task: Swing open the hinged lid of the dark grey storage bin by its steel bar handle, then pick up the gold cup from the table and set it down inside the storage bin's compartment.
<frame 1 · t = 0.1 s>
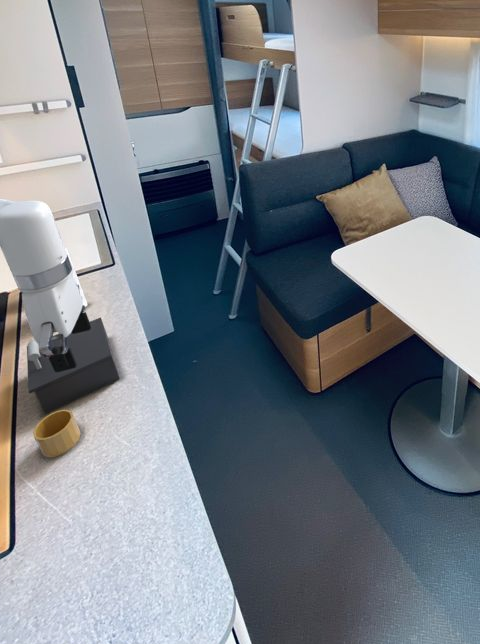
hand: (74, 348, 76), 20 cm above the worktop, tool pointing down, fingers open, 9 cm apart
milk: (70, 312, 115), on the worktop
lid: (65, 344, 91), point 9 cm above the worktop, hinge at 0.0°
cup: (61, 441, 80), on the worktop
dark grey storage bin: (80, 373, 95), on the worktop
sauce bottle: (58, 293, 123), on the worktop
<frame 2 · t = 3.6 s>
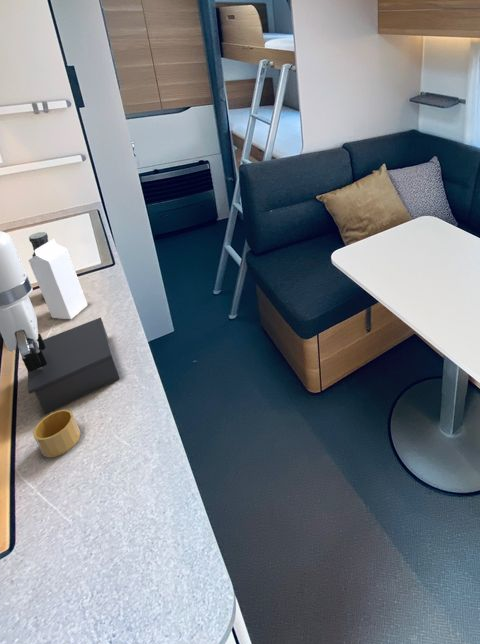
hand: (37, 358, 89), 8 cm above the worktop, tool pointing down, fingers closed on lid, 5 cm apart
lid: (65, 344, 91), point 9 cm above the worktop, hinge at 0.0°, touching gripper
everything else where it was.
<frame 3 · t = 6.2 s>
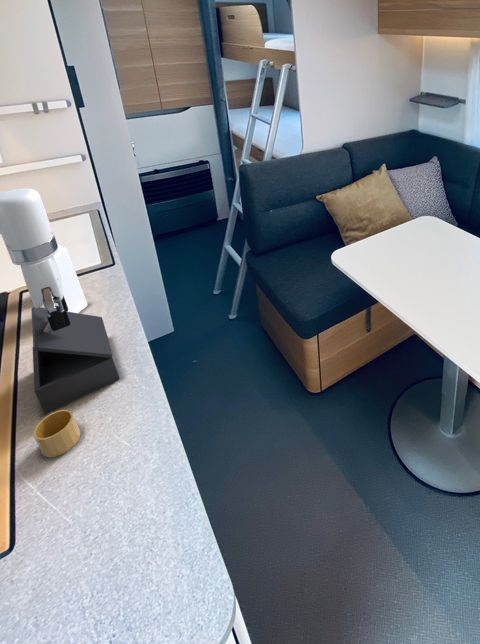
hand: (60, 319, 89), 16 cm above the worktop, tool pointing down, fingers closed on lid, 5 cm apart
lid: (77, 322, 92), point 13 cm above the worktop, hinge at 40.4°, touching gripper
everything else where it was.
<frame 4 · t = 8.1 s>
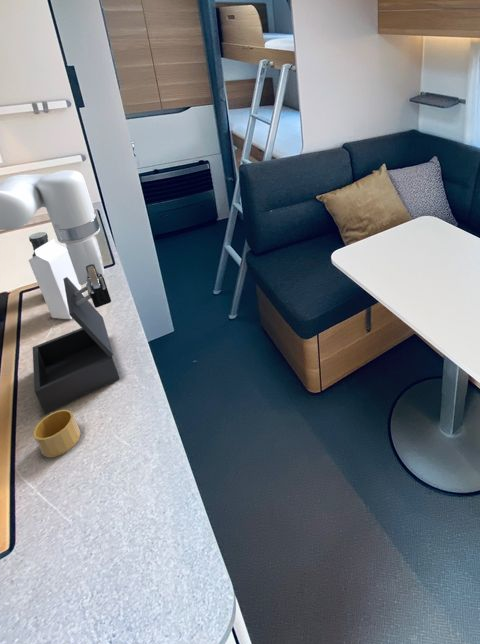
hand: (101, 297, 93), 17 cm above the worktop, tool pointing down, fingers closed on lid, 5 cm apart
lid: (98, 310, 94), point 14 cm above the worktop, hinge at 74.8°, touching gripper
everything else where it was.
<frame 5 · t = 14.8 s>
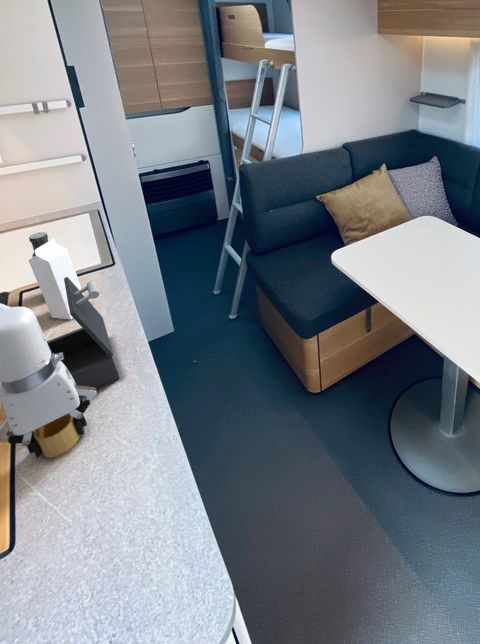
hand: (60, 439, 80), 1 cm above the worktop, tool pointing down, fingers closed on cup, 6 cm apart
lid: (98, 309, 94), point 14 cm above the worktop, hinge at 75.2°
cup: (61, 441, 80), on the worktop, touching gripper
everything else where it was.
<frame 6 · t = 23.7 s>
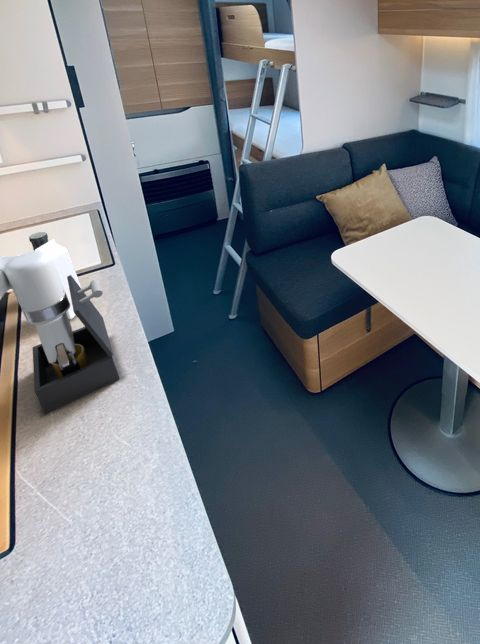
hand: (73, 368, 94), 2 cm above the worktop, tool pointing down, fingers closed on cup, 6 cm apart
lid: (100, 309, 94), point 14 cm above the worktop, hinge at 78.0°
cup: (74, 370, 94), point 1 cm above the worktop, touching gripper
everything else where it was.
when the fingers open (2 cm above the worktop, at t = 24.3 s): cup stays where it is, resting on dark grey storage bin.
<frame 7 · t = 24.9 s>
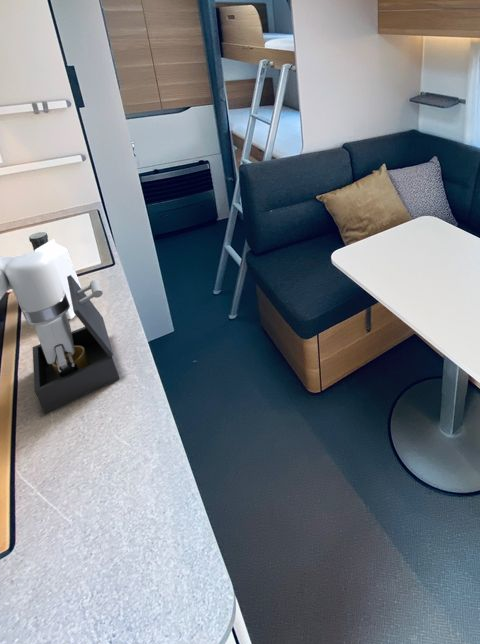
hand: (70, 367, 93), 3 cm above the worktop, tool pointing down, fingers open, 9 cm apart
cup: (75, 372, 94), point 1 cm above the worktop, touching dark grey storage bin
everything else where it was.
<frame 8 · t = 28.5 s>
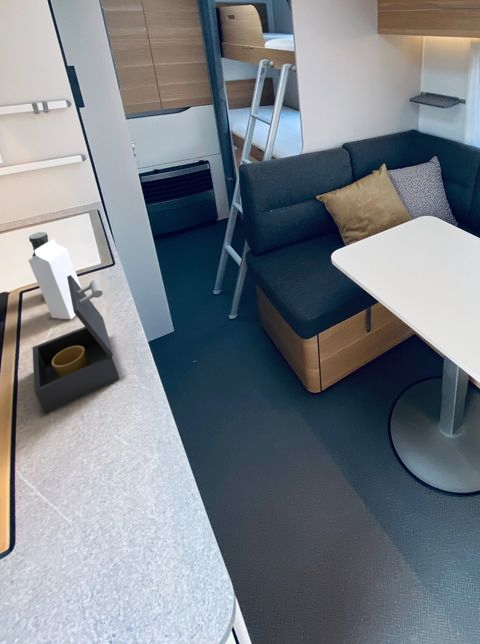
nothing on the worktop moved.
at the end: lid at +78° (first picture: +0°); cup inside the target area in the dark grey storage bin (0.8 cm from its centre), point 0.9 cm above the dark grey storage bin's base; cup tilted 0° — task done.
